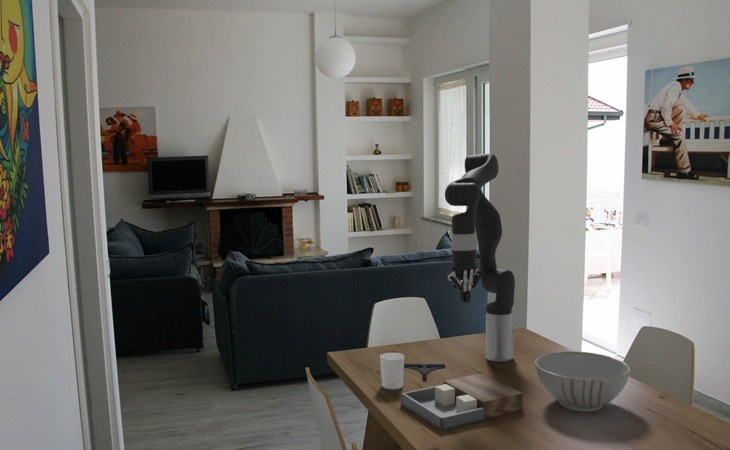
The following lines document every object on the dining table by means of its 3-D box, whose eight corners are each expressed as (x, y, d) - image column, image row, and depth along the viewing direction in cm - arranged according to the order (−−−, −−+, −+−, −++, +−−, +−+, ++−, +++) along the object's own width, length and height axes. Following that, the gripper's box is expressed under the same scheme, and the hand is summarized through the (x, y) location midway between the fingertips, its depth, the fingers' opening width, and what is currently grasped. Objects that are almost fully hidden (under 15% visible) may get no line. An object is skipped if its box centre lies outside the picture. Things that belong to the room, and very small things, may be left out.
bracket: (403, 381, 217) (403, 373, 217) (404, 367, 232) (404, 359, 231) (446, 382, 216) (446, 374, 215) (445, 368, 230) (445, 360, 230)
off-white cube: (468, 394, 189) (456, 396, 187) (476, 399, 184) (464, 401, 183) (468, 409, 189) (456, 411, 187) (476, 414, 185) (464, 417, 183)
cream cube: (445, 384, 197) (435, 386, 196) (454, 388, 194) (443, 390, 192) (446, 398, 198) (435, 400, 196) (454, 403, 194) (443, 405, 192)
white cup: (407, 383, 214) (407, 353, 213) (400, 391, 206) (400, 360, 205) (384, 380, 216) (384, 351, 215) (377, 388, 209) (376, 358, 208)
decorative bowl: (581, 429, 176) (582, 386, 174) (515, 397, 199) (515, 359, 198) (650, 410, 188) (651, 369, 187) (580, 382, 211) (580, 346, 210)
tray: (441, 395, 202) (441, 385, 201) (484, 420, 183) (484, 408, 182) (401, 404, 195) (401, 393, 195) (441, 430, 176) (441, 418, 176)
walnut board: (480, 388, 207) (480, 373, 207) (522, 409, 190) (522, 393, 189) (443, 396, 201) (443, 380, 201) (483, 419, 183) (483, 401, 183)
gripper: (473, 243, 207) (474, 297, 210) (439, 248, 201) (441, 303, 203) (488, 246, 201) (489, 301, 203) (454, 251, 194) (455, 308, 197)
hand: (465, 302), depth 203 cm, fingers closed
